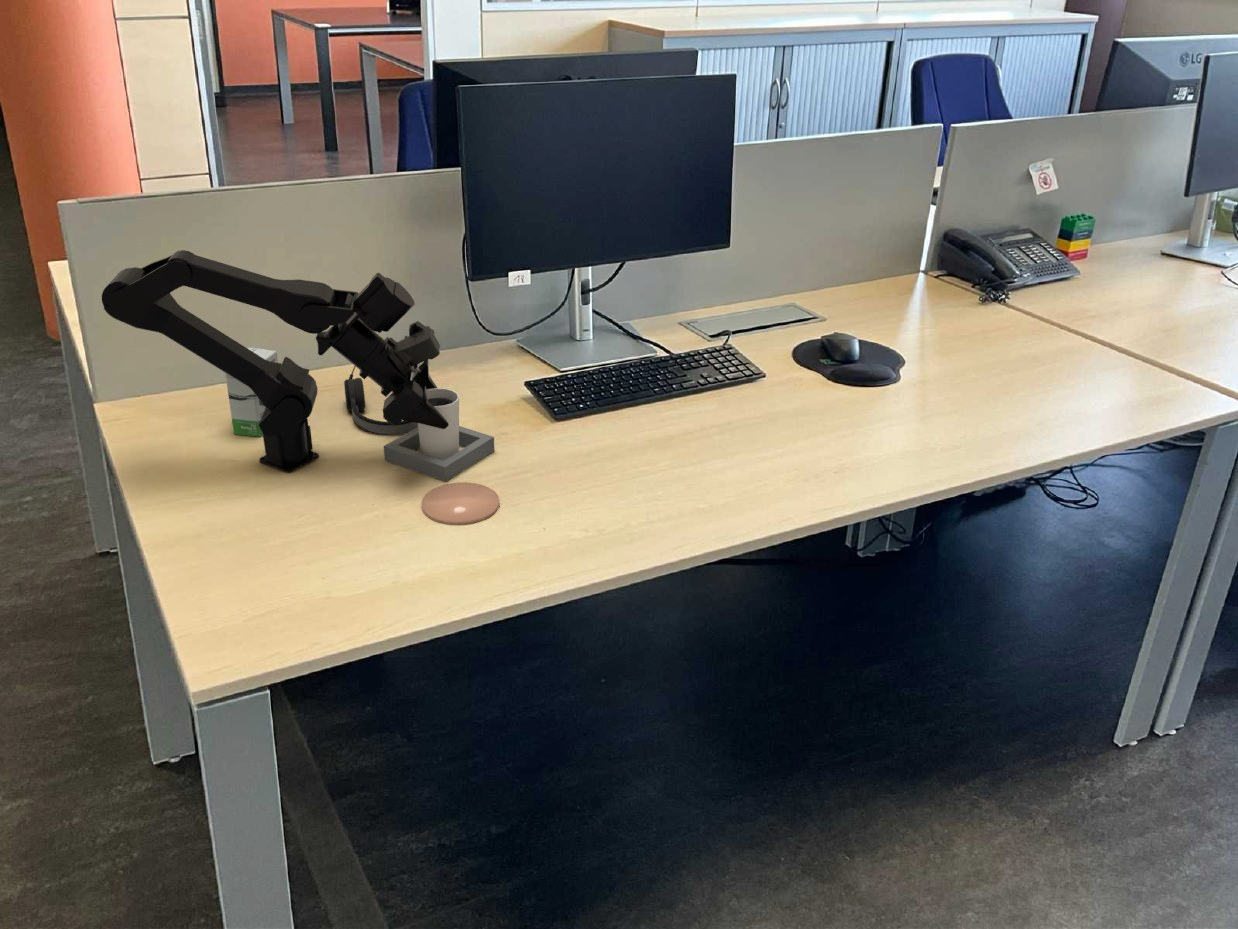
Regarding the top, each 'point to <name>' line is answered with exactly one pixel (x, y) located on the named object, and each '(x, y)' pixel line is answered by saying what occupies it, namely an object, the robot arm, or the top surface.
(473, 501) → the coaster
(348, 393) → the headset
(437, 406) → the grey cup
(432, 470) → the cup holder
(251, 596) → the top surface
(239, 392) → the ink box
